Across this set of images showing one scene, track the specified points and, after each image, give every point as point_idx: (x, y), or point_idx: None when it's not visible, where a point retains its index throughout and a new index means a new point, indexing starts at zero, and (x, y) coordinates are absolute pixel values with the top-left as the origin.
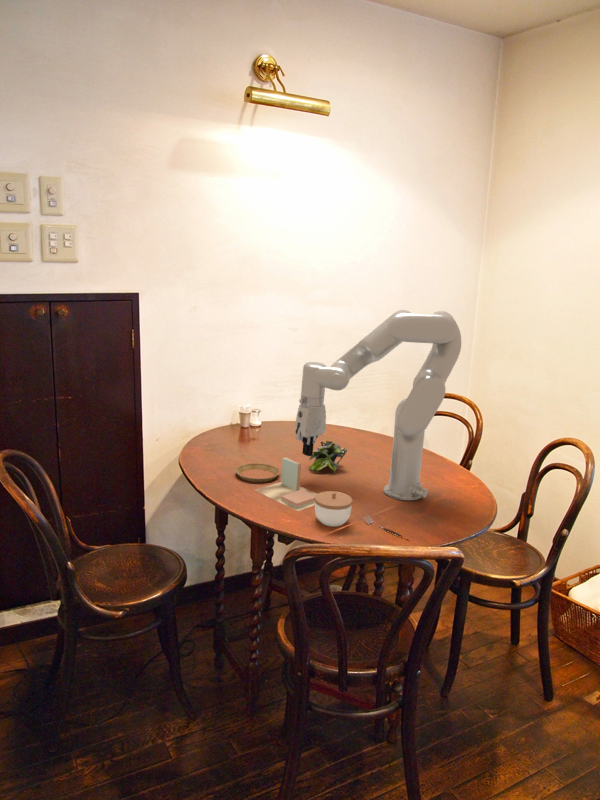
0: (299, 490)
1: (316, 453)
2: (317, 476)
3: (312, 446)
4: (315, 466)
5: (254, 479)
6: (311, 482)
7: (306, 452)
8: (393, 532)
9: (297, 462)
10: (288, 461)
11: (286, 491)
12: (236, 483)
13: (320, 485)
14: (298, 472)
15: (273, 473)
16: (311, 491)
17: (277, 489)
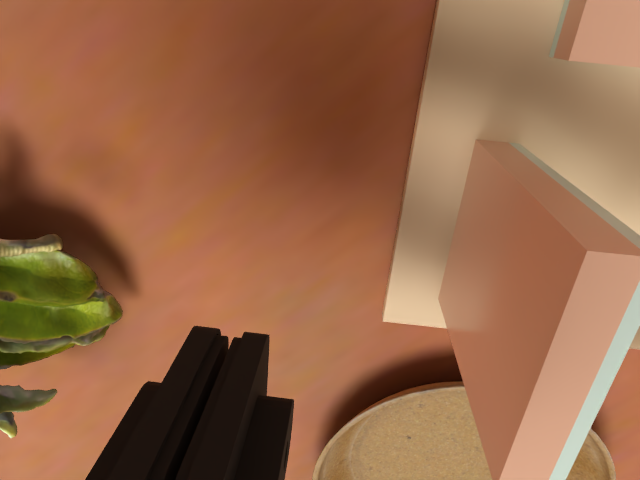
0: (619, 58)
1: None
2: (118, 234)
3: (153, 447)
4: (81, 299)
5: (594, 439)
6: (244, 191)
7: (283, 404)
8: None
9: (589, 304)
10: (590, 406)
11: (582, 188)
12: (618, 476)
13: (231, 99)
14: (570, 201)
15: (349, 433)
16: (437, 34)
17: None
